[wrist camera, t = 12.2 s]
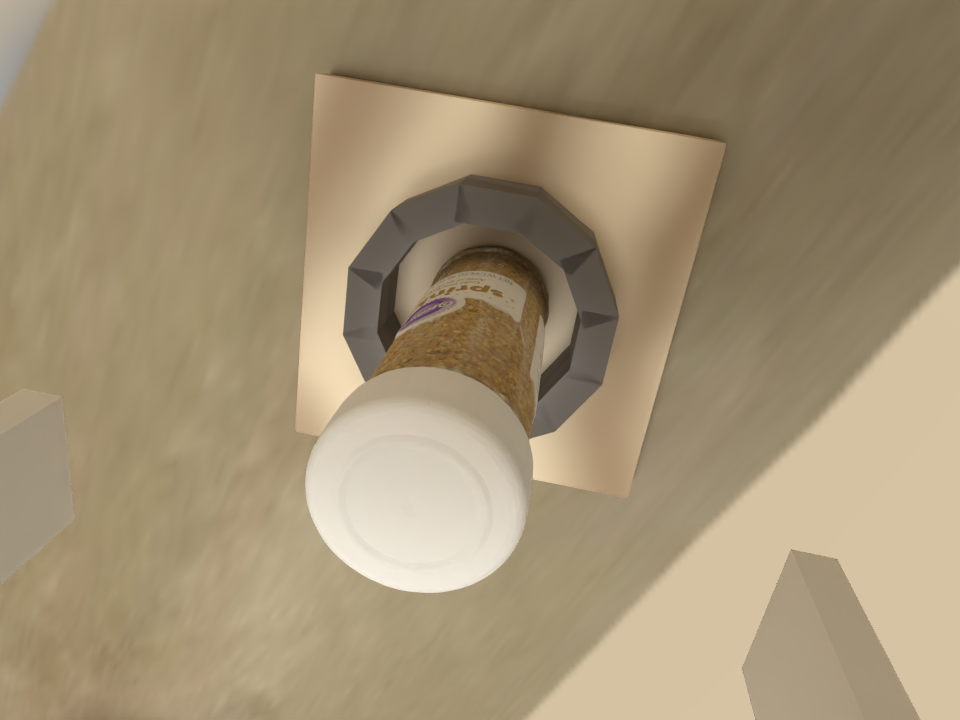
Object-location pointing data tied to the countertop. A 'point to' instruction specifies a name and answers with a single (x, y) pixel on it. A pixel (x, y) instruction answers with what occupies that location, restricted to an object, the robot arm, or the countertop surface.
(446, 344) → the sprinkles bottle
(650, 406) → the mount plate
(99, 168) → the countertop surface
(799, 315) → the countertop surface
